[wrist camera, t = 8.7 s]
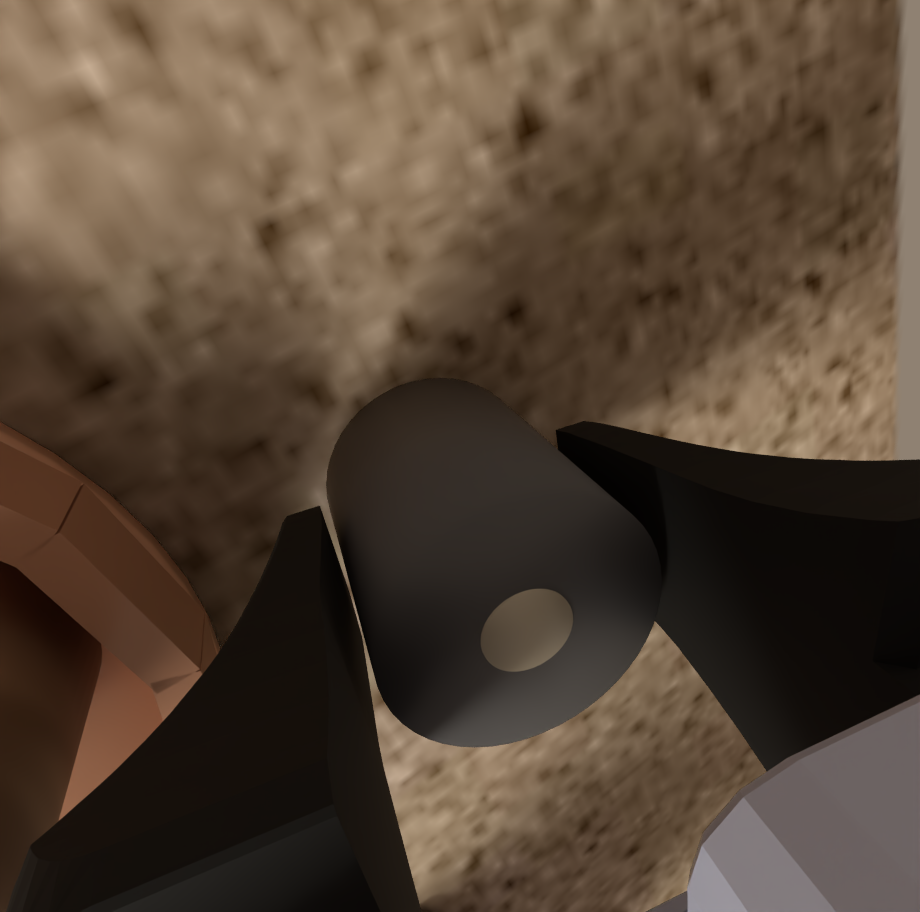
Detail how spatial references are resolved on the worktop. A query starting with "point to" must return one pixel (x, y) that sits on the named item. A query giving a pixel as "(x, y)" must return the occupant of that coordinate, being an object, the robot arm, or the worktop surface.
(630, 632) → the dark gray rounded cylinder
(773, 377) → the worktop surface
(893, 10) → the worktop surface
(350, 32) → the worktop surface
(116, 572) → the ring tray
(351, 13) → the worktop surface
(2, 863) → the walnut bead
